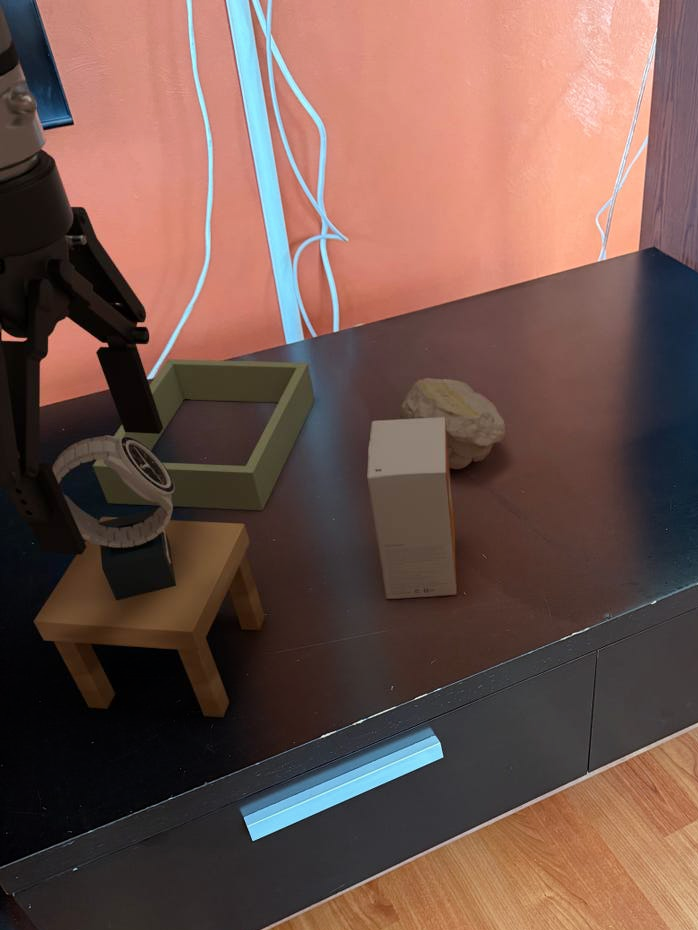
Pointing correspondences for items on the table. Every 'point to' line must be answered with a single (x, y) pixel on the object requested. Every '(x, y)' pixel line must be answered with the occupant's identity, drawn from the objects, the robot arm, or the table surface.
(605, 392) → the table surface
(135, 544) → the watch
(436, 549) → the small box
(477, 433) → the beige rock
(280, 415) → the olive green rectangular frame
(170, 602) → the stool
